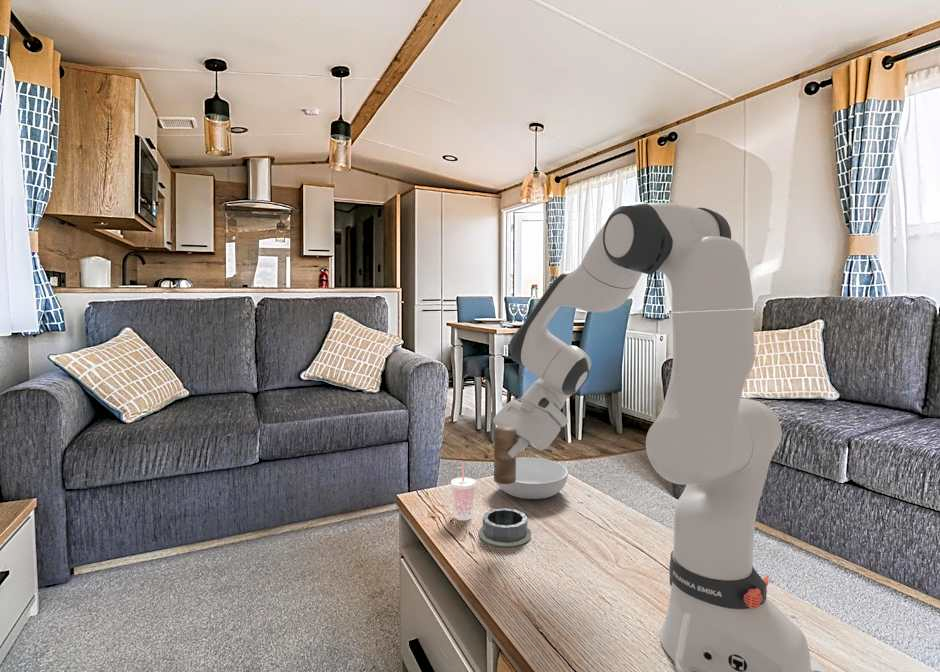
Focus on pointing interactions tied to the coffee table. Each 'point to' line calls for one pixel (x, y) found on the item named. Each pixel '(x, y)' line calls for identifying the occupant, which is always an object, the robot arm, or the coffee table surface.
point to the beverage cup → (463, 496)
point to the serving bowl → (536, 478)
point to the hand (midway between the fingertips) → (502, 451)
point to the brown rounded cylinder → (504, 455)
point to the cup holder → (505, 528)
